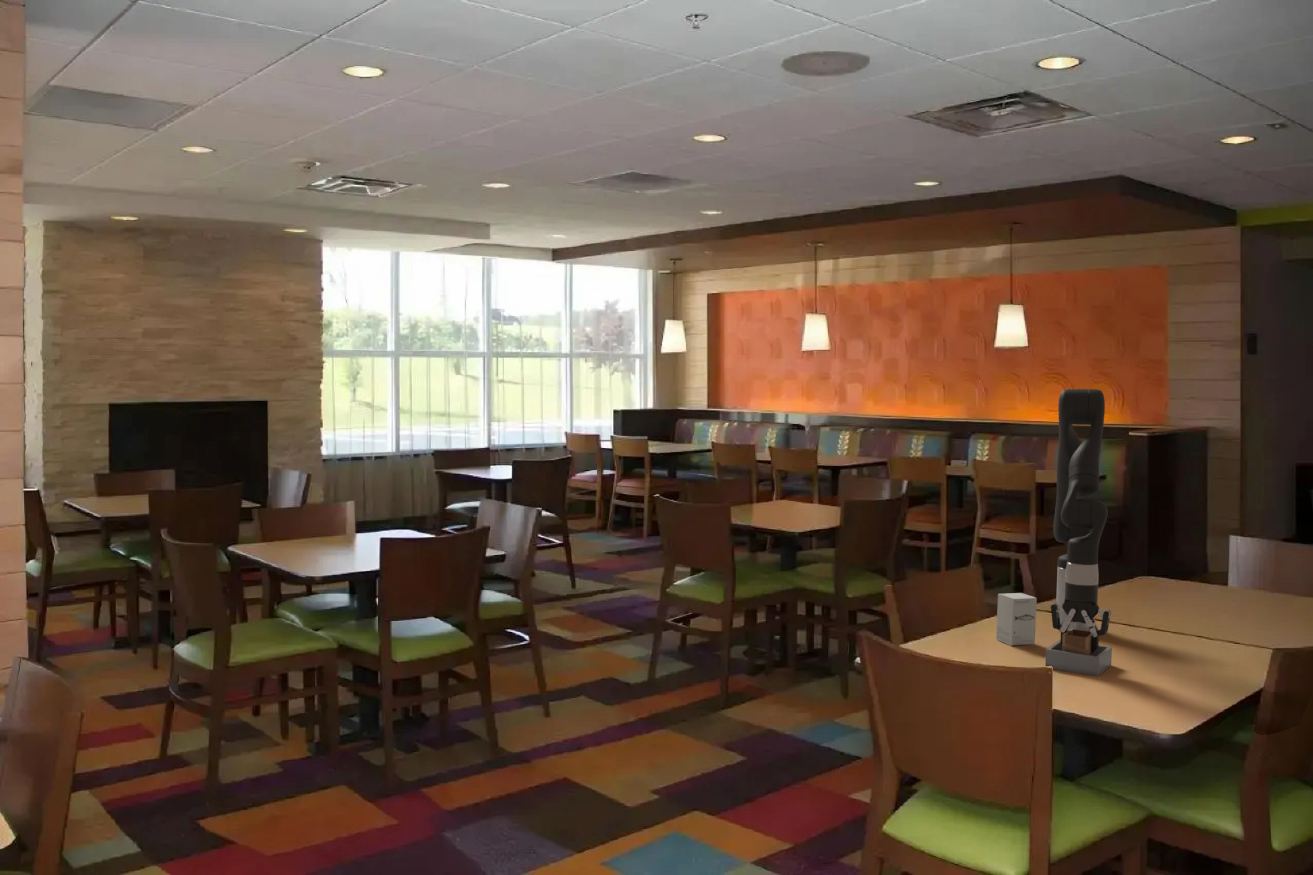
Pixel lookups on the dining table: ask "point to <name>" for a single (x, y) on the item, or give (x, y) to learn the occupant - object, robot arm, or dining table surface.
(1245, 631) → the dining table surface
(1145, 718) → the dining table surface
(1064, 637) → the small crate
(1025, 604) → the supplement box
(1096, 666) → the box
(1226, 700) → the dining table surface
